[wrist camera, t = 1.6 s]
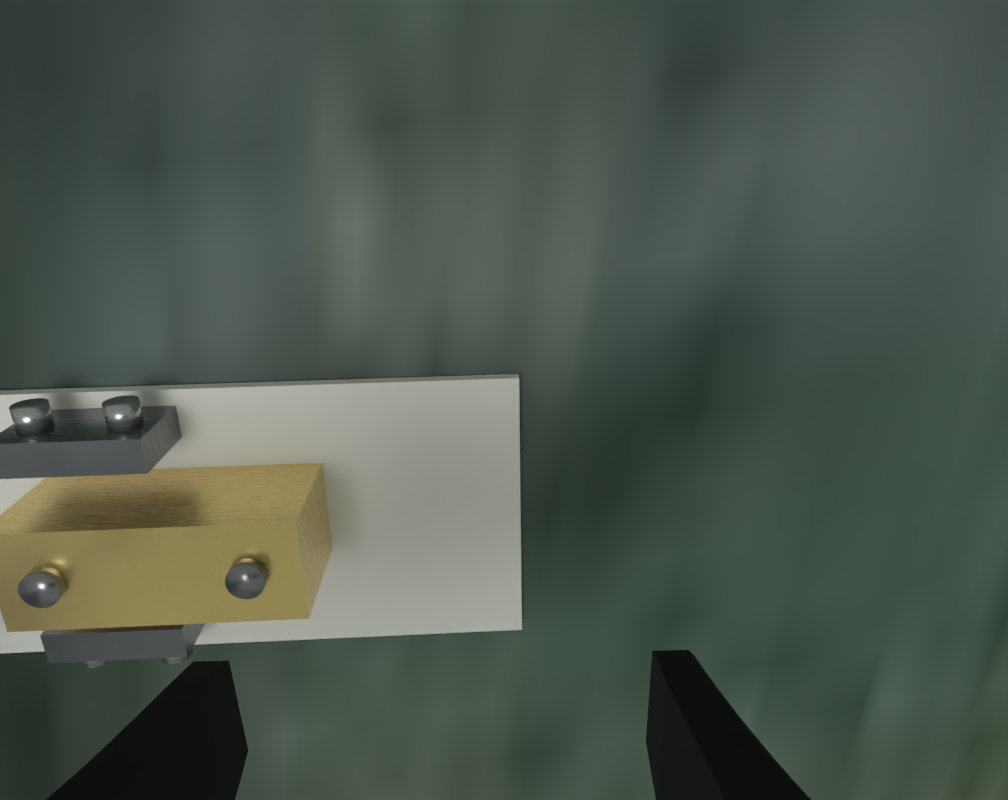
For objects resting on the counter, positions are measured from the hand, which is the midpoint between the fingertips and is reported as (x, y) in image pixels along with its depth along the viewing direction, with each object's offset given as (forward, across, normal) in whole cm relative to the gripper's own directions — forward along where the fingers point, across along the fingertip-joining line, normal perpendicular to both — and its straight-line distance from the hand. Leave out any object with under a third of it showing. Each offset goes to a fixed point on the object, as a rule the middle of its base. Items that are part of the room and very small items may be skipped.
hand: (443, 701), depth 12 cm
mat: (+10, +10, +2) cm, 14 cm away
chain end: (+10, +10, +2) cm, 14 cm away
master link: (+10, +8, +2) cm, 13 cm away
